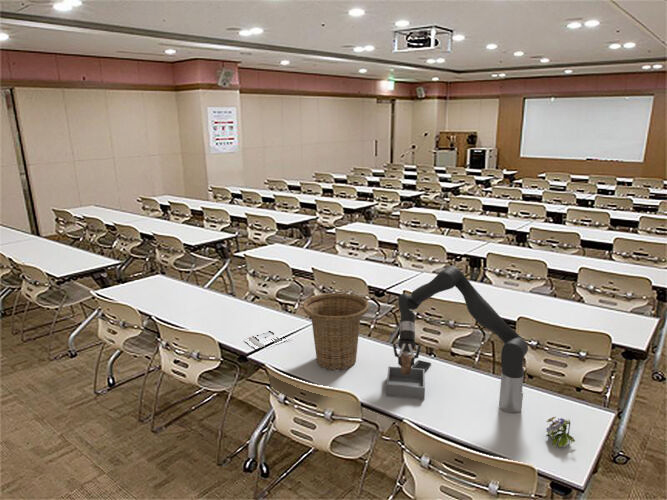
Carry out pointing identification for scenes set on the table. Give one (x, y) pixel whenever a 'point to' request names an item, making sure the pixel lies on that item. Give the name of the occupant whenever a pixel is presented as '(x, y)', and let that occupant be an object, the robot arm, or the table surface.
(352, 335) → the wicker basket
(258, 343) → the office telephone
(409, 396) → the bin
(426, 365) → the phone
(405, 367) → the pepper mill
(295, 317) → the table surface
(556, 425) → the passion flower
